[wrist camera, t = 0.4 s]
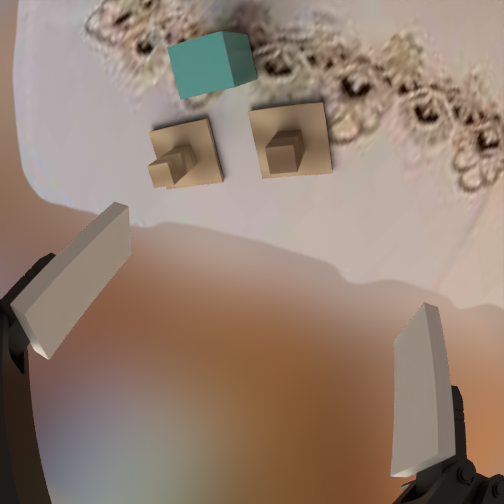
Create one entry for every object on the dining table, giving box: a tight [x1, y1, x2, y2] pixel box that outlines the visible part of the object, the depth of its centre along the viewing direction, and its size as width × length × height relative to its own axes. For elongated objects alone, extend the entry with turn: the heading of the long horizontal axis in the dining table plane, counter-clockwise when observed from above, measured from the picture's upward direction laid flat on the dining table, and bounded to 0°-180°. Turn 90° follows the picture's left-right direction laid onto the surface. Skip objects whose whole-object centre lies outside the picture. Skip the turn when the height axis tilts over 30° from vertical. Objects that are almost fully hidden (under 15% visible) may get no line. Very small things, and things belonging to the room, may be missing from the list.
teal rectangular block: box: [167, 31, 257, 99], centre depth 26 cm, size 5×5×8 cm
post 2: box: [248, 102, 332, 179], centre depth 31 cm, size 8×8×7 cm
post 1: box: [147, 118, 224, 189], centre depth 35 cm, size 8×8×7 cm
